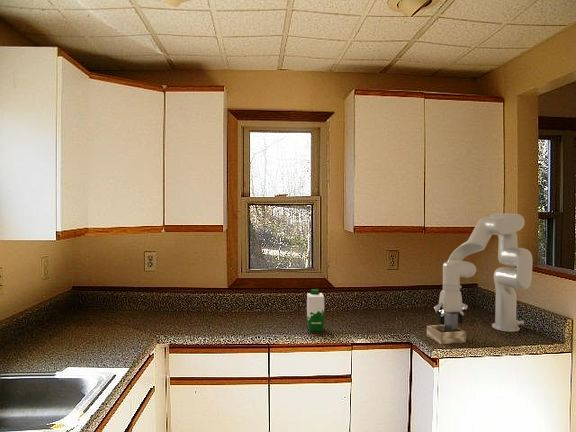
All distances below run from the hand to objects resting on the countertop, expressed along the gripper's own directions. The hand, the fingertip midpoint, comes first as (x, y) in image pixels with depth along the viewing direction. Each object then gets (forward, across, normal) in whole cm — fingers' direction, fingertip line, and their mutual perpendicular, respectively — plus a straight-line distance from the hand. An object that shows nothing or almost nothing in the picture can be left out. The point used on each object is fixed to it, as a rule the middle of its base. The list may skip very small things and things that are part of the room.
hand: (450, 323), depth 191 cm
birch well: (+7, +2, 0) cm, 8 cm away
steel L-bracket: (+7, +2, 0) cm, 7 cm away
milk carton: (+7, +60, -28) cm, 66 cm away
